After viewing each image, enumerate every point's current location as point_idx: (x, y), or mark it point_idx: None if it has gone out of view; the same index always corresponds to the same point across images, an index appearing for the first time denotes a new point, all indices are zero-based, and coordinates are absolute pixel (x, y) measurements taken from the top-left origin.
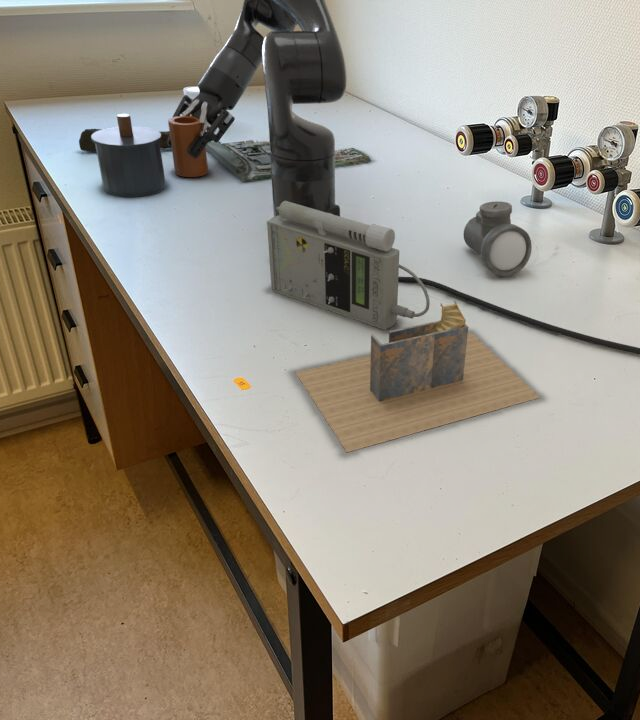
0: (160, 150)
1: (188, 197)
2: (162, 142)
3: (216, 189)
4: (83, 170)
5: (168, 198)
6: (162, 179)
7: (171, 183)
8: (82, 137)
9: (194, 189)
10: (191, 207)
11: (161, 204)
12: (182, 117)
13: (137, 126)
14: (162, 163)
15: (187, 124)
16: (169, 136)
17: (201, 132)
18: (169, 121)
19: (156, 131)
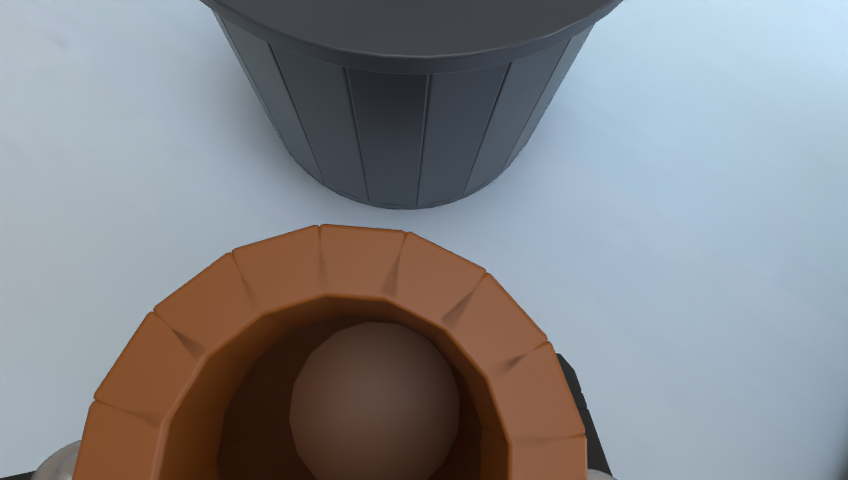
0: (261, 66)
1: (113, 162)
2: None
3: (76, 334)
4: (733, 57)
5: (178, 95)
6: (274, 125)
7: (326, 223)
8: None
9: (171, 250)
10: (10, 95)
11: (147, 36)
12: None
13: (597, 5)
14: (294, 126)
15: (143, 347)
16: (577, 384)
17: (59, 470)
18: (426, 249)
19: (331, 26)
